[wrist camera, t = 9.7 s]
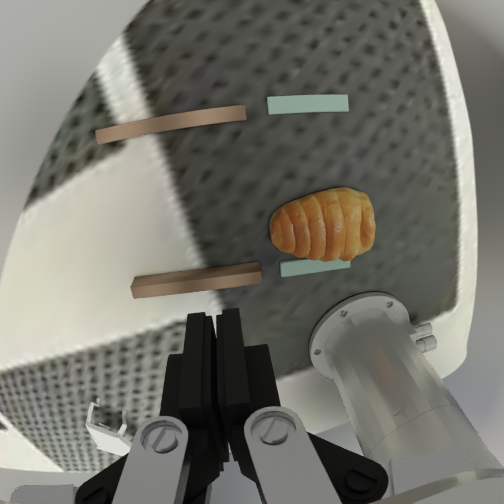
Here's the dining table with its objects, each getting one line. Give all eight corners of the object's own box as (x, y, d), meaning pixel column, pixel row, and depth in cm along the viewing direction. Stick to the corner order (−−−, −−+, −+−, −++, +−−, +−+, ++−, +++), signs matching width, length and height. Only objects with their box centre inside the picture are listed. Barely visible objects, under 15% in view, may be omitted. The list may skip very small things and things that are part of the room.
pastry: (270, 260, 31) (277, 279, 27) (265, 191, 28) (271, 201, 25) (362, 248, 31) (378, 265, 28) (363, 182, 29) (381, 192, 25)
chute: (243, 105, 25) (244, 104, 23) (259, 273, 31) (262, 283, 29) (103, 129, 24) (95, 130, 22) (138, 287, 30) (133, 298, 29)
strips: (345, 94, 25) (347, 94, 25) (348, 265, 32) (350, 267, 31) (266, 97, 25) (267, 97, 24) (280, 275, 31) (281, 277, 31)
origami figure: (76, 414, 38) (68, 440, 34) (95, 390, 36) (86, 417, 32) (144, 448, 42) (141, 473, 38) (171, 427, 40) (169, 455, 36)
